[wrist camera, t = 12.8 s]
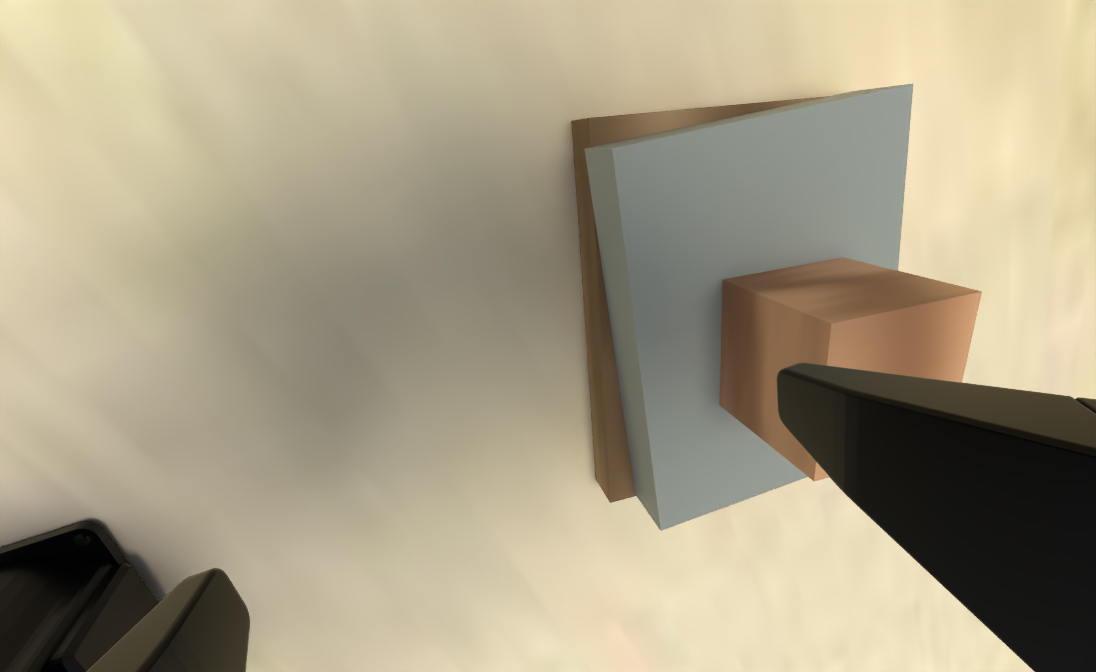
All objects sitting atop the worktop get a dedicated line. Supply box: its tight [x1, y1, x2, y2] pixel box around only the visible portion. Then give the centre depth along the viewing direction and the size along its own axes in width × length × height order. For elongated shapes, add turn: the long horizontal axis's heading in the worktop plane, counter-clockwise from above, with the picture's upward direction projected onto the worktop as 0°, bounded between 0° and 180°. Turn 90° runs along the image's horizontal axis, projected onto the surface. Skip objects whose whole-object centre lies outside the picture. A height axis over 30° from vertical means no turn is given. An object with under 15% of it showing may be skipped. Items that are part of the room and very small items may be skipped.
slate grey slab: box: [585, 84, 913, 530], centre depth 20 cm, size 11×15×2 cm
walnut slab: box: [572, 96, 829, 503], centre depth 23 cm, size 12×16×2 cm
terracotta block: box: [719, 257, 982, 481], centre depth 17 cm, size 5×5×5 cm
